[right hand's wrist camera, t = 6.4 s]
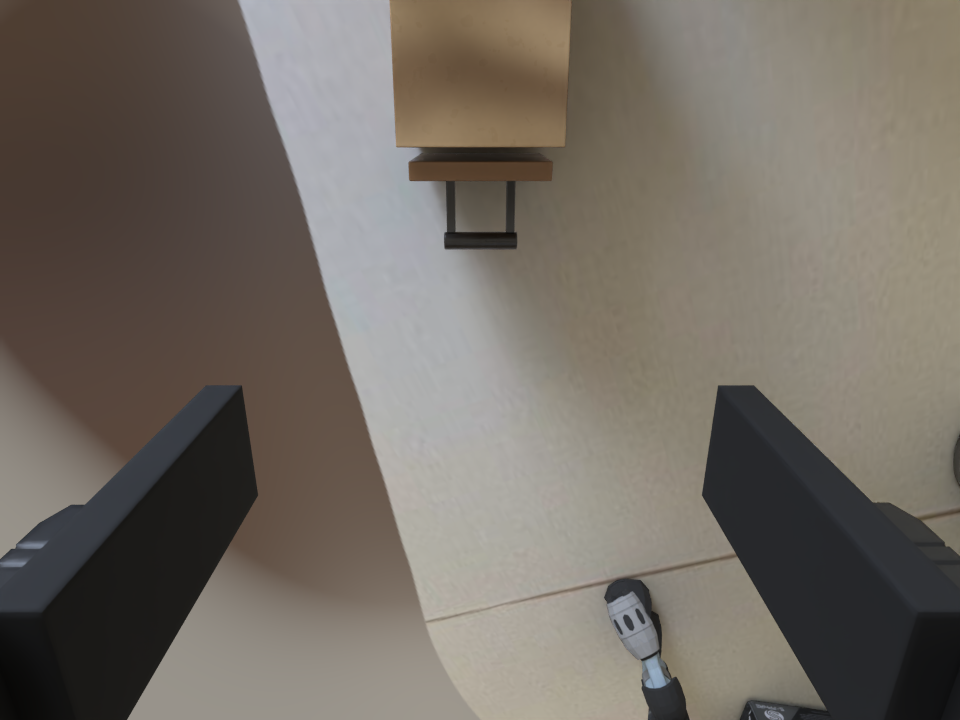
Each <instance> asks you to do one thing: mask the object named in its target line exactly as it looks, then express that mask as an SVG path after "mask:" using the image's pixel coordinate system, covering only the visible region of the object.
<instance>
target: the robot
mask: <svg viewBox="0 0 960 720" xmlns="http://www.w3.org/2000/svg"><path fill="white" fill-rule="evenodd" d="M604 598H605V600H606V601H607V608H608V613H609V617H610V619H611V622H612V624H613V626H614V628H615V630H616V632H617V634H618V636H619V638H620V639H621V641H622V642H623V644H624V646H625V647H626V648H627V650H628V651H629V652H630V653H631V654H632V655H633V656H634V657H635V658H636V659H637V660H639V659H640V660H641V661H642V667H643V673H642V678H643V679H642V680H641V681H642V685H643V686H642V691H643V693H644V696H645V699H646V702H647V704H648V707H649V714H648V720H690V719H689V716H688V713H687V710H686V701H685V696H684V694H683V691H682V687H681V685H680V683H679V681H678V679H677V677H674V678H671V675H670V673H669V671H668V667H667V665H666V663H665V662H664V661H663V660H662V659H661V658H660V657H661V646H662V631H661V624H660V621H659V616H658V614H656V613H654V612H653V611H651V610H652V604H651V598H650V594H649V589H648V588H647V587H646V586H645V585H644V584H643V583H642V582H641V580H631V579H622V580H617V581H615V582H614V583H613V584H611V585H610V586H608V589H607V592H606V595H605V597H604Z"/></svg>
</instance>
